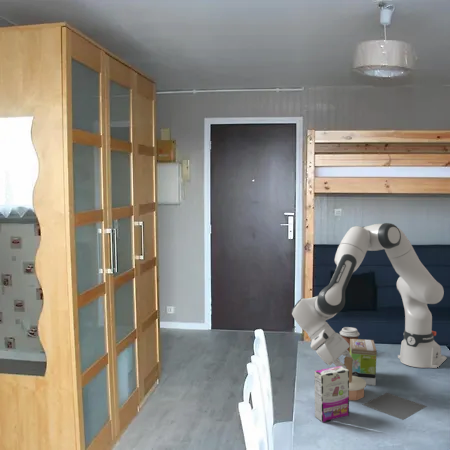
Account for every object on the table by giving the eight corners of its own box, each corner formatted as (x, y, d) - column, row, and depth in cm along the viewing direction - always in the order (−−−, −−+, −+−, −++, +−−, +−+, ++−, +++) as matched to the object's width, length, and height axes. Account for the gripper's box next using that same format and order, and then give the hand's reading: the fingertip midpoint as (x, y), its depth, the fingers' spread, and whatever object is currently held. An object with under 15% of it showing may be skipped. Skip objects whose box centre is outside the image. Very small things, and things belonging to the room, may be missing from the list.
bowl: (344, 387, 201) (344, 376, 200) (368, 395, 192) (369, 384, 192) (326, 394, 194) (327, 383, 193) (351, 404, 185) (351, 392, 185)
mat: (386, 394, 194) (386, 392, 194) (426, 407, 182) (426, 406, 182) (362, 406, 184) (362, 404, 184) (403, 421, 172) (403, 419, 171)
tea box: (376, 387, 201) (377, 350, 200) (350, 385, 203) (350, 348, 202) (373, 373, 216) (373, 339, 214) (348, 371, 218) (349, 337, 217)
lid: (336, 375, 201) (336, 350, 201) (369, 381, 195) (370, 355, 194) (325, 386, 190) (326, 360, 189) (360, 393, 184) (361, 366, 183)
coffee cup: (362, 353, 241) (363, 328, 240) (353, 358, 234) (353, 333, 233) (345, 349, 247) (345, 325, 246) (335, 354, 240) (336, 329, 239)
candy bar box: (340, 410, 180) (341, 365, 179) (349, 416, 175) (350, 369, 174) (313, 416, 175) (313, 370, 174) (321, 422, 171) (322, 374, 170)
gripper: (326, 334, 206) (350, 362, 202) (309, 348, 188) (334, 379, 184) (337, 325, 204) (361, 352, 200) (320, 338, 186) (347, 369, 182)
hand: (348, 365), depth 192 cm, fingers open, 8 cm apart
